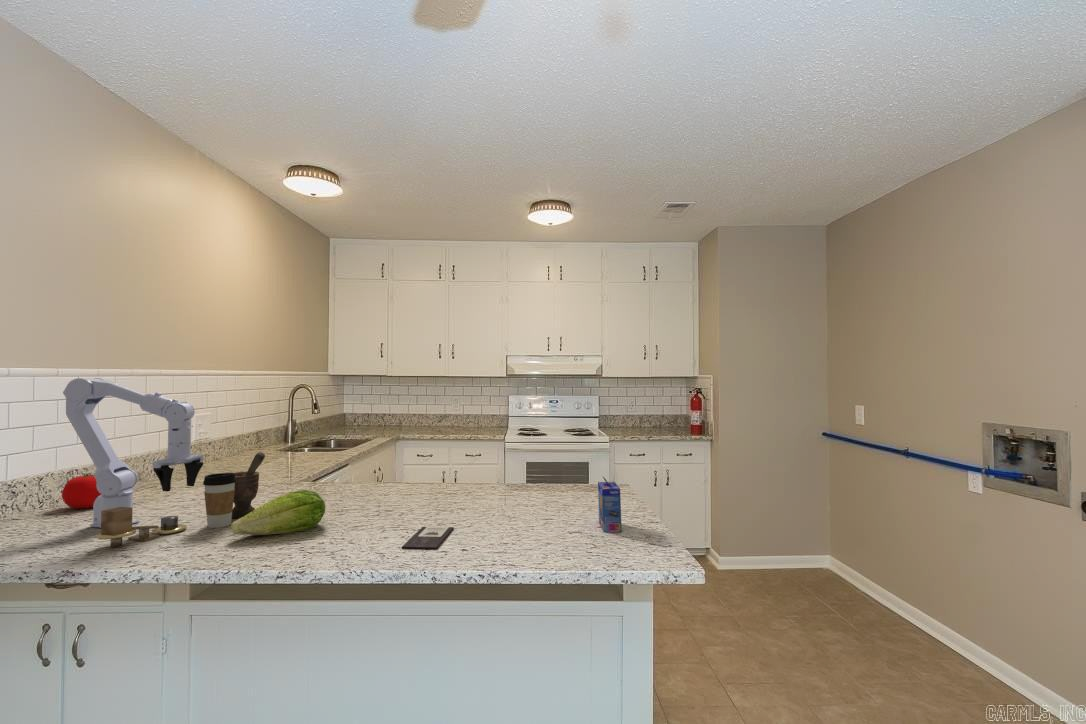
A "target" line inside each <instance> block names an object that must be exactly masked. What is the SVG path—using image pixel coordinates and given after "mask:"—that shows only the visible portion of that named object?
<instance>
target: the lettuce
mask: <svg viewBox="0 0 1086 724" xmlns="http://www.w3.org/2000/svg"><path fill="white" fill-rule="evenodd" d="M325 513H326V503H325V500H324V499H323V498H322V496H321V495H319V494H318V493H317V492H316V491H311V490H306V489H302V490H296V491H292V492H289V493H286V494H283V495H282V494H281V495H280V496H278V497H274V499H272V500H270V501H268V502H266V503H265V502H264V503H263V504H262V505H261V506H258V507H257V508H255V510H253V511H252V512H250V513H249V514H247V515H245V516H244V517H240V518H237V519H236V520H235V521H232V522H231V524H230V528H231V529H230V530H231V531H232V533H233V534H234V535H251V536H252V535H255V536H267V535H279V534H280V535H281V534H290V533H291V534H292V533H298V532H302V531H306V530H311V529H313V528H314V527H316V526H317V525H318V524H319V523H320V522H321V521H322V519H323V517H324V515H325Z"/></svg>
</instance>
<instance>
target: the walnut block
mask: <svg viewBox="0 0 1086 724" xmlns="http://www.w3.org/2000/svg"><path fill="white" fill-rule="evenodd" d="M132 509H133V508H130V507H115V508H111V509H107V510H102V511H101V528H100V533H101V535H110V536H116V535H119V534H123V533H127V532H130V531H132V527H133V524H132V519H133V515H132Z"/></svg>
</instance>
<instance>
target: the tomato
mask: <svg viewBox="0 0 1086 724" xmlns="http://www.w3.org/2000/svg"><path fill="white" fill-rule="evenodd" d="M96 485H97V482H96V479H95V477H94V474H89V473H86V474H83V475H79V476H76V477H75V476H74V477H72V478H70V479H69V480H68V481H67V483H66V484H65V485H64V487H63V489H62V491H61V498H62V501H63V502H64V504H65V505H67V506H68V507H70V508H73V509H80V510H81V509H91V508H92V509H93V505H94V502H95V500H96V498H97V497H98V496H100V495H102V494H101V493H99V491H98V490H97V486H96Z"/></svg>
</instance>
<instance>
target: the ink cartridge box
mask: <svg viewBox="0 0 1086 724" xmlns="http://www.w3.org/2000/svg"><path fill="white" fill-rule="evenodd" d="M602 478H603V479H604V481H598V482H597V491H598V494H597V495H598V496H597V497H598V498H597V499H598V501H597V502H598V523H599V525H600V528H601V530H602V532H603V533H622V532H623V531H622V530H623V528H622V503H621V502H622V500H621V488H620V487H619V486H618V484H617V483H616V482H615V481H608V480H607V479H606V478H605V476H602Z"/></svg>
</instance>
